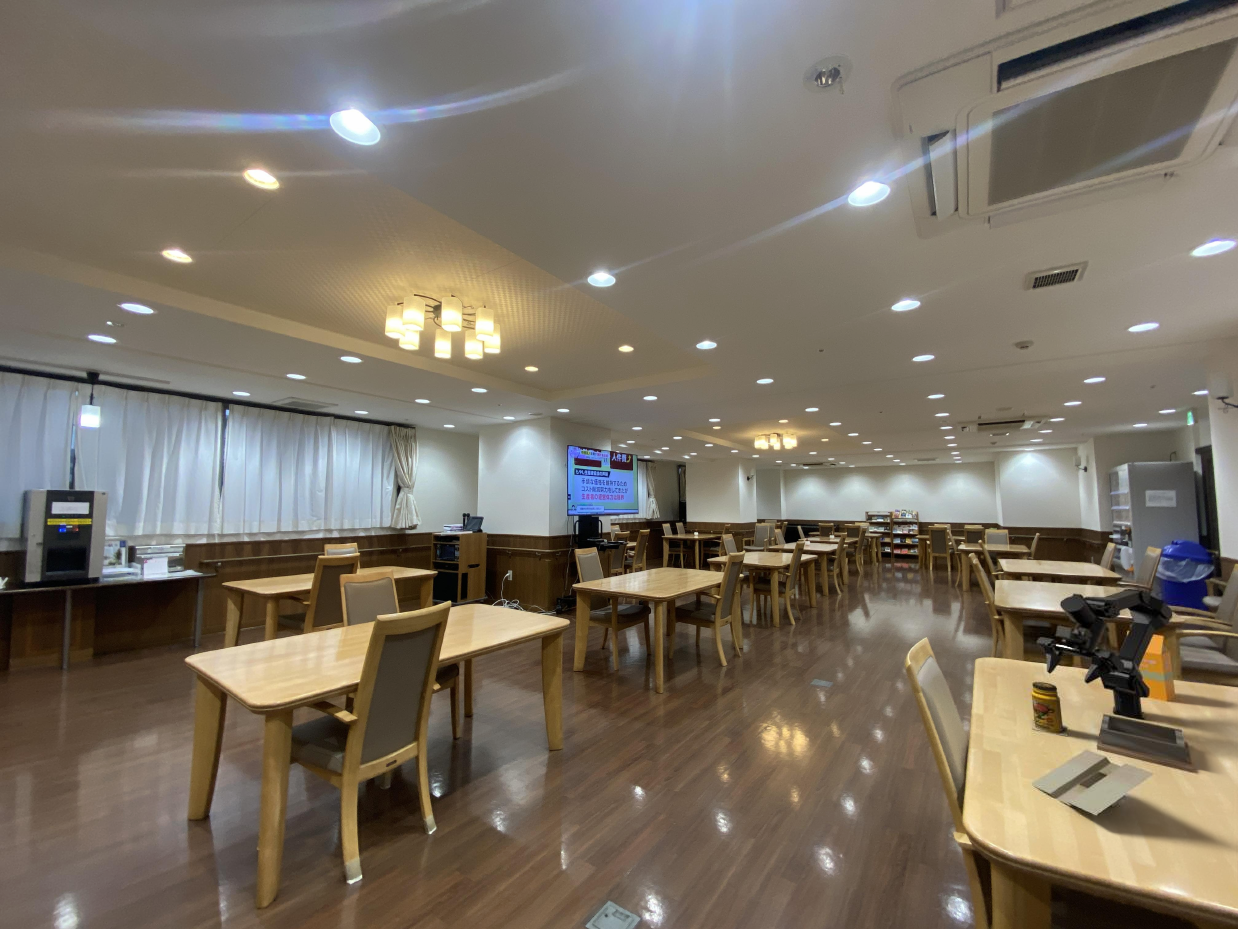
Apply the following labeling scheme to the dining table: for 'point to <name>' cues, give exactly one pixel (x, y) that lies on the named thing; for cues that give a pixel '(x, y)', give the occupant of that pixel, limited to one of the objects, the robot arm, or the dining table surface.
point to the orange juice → (1158, 669)
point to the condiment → (1047, 709)
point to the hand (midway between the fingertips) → (1066, 677)
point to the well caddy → (1144, 742)
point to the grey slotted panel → (1091, 782)
